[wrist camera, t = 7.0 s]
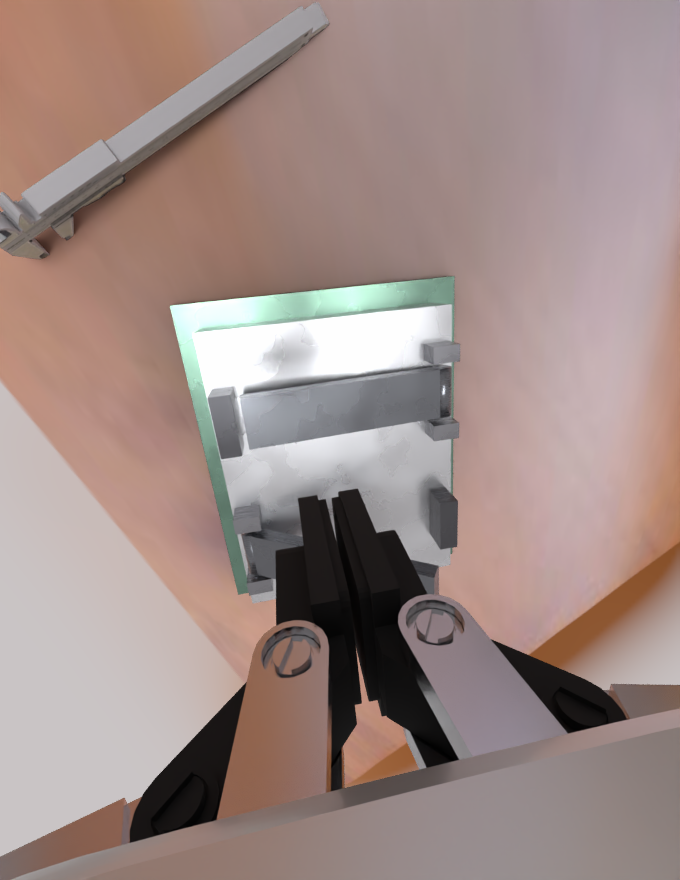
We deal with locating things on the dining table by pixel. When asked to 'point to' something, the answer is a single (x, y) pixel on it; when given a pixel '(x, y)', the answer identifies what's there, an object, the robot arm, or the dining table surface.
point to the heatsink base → (335, 457)
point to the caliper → (146, 136)
